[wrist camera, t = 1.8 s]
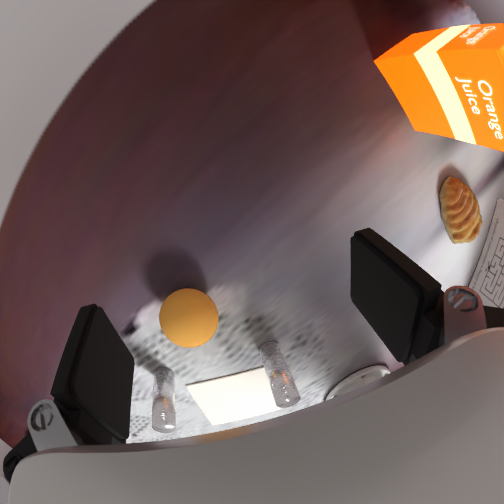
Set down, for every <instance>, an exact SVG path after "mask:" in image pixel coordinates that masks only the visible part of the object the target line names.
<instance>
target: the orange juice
mask: <svg viewBox="0 0 504 504" xmlns="http://www.w3.org/2000/svg"><path fill="white" fill-rule="evenodd" d="M374 62H375V64H376V65H377V67H378V68H379V70H380V71H381V73H382V74H383V76H384V77H385V79H386V80H387V82H388V84H389V85H390V87H391V88H392V90H393V92H394V93H395V95H396V97H397V98H398V100H399V102H400V104H401V105H402V107H403V109H404V111H405V112H406V114H407V116H408V118H409V120H410V122H411V124H412V125H413V127H414V129H415V131H421V132H426V133H432V134H437V135H441V136H446V137H450V138H455V139H456V140H461V141H465V142H468V143H472V144H478V145H482V146H485V147H489V148H492V149H495V150H499V151H502V152H504V23H498V24H497V23H496V24H478V25H462V26H454V27H450V28H443V29H437V30H431V31H426V32H420V33H415V34H412V35H410V36H409V37H407V38H406V39H404V40H403V41H401V42H400V43H398V44H397V45H395V46H394V47H393V48H391V49H390V50H388V51H387V52H385V53H384V54H383V55H381V56H380V57H378V58H377V59H376V60H374Z"/></svg>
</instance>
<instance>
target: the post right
mask: <svg viewBox="0 0 504 504" xmlns="http://www.w3.org/2000/svg"><path fill="white" fill-rule="evenodd" d="M259 352H260V356H261V359H262V362H263V365H264V368H265V372H266V375H267V378H268V381H269V384H270V387H271V391H272V394H273V397H274V400H275V403H276V406H277V407H280V408H286V407H290V406H293V405H295V404H296V403H297V402H298V401H299V400H300V395H299V392H298V390H297V387H296V385H295V382H294V380H293V377H292V375H291V372H290V370H289V367H288V365H287V362H286V360H285V357H284V354H283V352H282V349H281V347H280V345H279V343H277V342H274V341H270V342H267V343H264V344H263V345H262V346H261V347H260V349H259Z"/></svg>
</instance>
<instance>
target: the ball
mask: <svg viewBox="0 0 504 504" xmlns="http://www.w3.org/2000/svg"><path fill="white" fill-rule="evenodd" d="M159 320H160V325H161V328H162V331H163V332H164V334H165V335H166V337H167V338H168V339H169V340H170V341H172V342H173V343H175V344H177V345H179V346H182V347H189V348H191V347H197V346H200V345H203V344H204V343H206V342H207V341H208V340H210V339H211V338H212V336H213V335H214V333H215V332H216V329H217V326H218V312H217V308H216V306H215V304H214V302H213V301H212V300H211V298H210V297H209V296H208V295H206V294H205V293H203V292H201V291H199V290H196V289H190V288H186V289H180V290H177V291H175V292H173V293H172V294H170V295H169V296H168V297H167V298H166V299H165V301H164V302H163V304H162V306H161V309H160V314H159Z"/></svg>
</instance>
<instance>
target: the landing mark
mask: <svg viewBox="0 0 504 504" xmlns="http://www.w3.org/2000/svg"><path fill="white" fill-rule="evenodd" d="M186 387H187V389H188V390H189V392H190V393H191V395H192V396H193V398H194V399H195V401H196V402H197V404H198V405H199V407H200V408H201V410H202V411H203V412H204V414H205V415H206V417H207V418H208V419H209V421H210V422H211V424H212V425H218V424H223V423H227V422H232V421H236V420H241V419H245V418H249V417H253V416H257V415H261V414H265V413H268V412H272V411H275V410H279V409H282V408H280V407H277V406H276V403H275V400H274V397H273V394H272V391H271V387H270V384H269V381H268V378H267V375H266V372H265V368H264V367H260V368H257V369H253V370H249V371H245V372H242V373H238V374H234V375H230V376H226V377H221V378H217V379H213V380H208V381H204V382H199V383H194V384H189V385H186Z"/></svg>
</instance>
